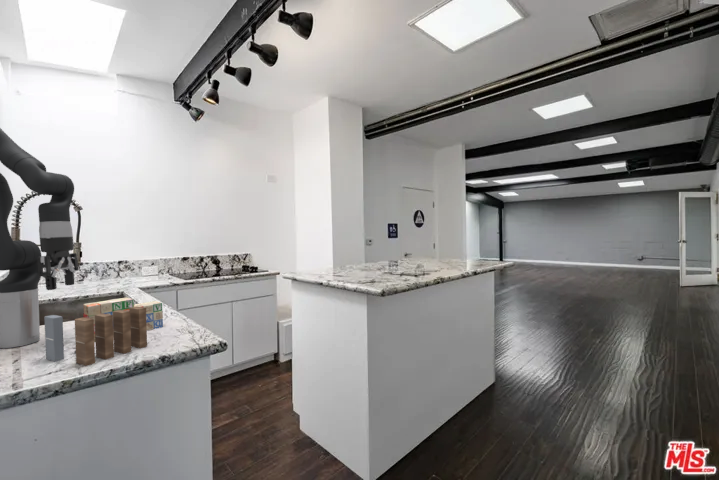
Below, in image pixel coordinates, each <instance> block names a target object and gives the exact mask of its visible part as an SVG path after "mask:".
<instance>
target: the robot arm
mask: <svg viewBox="0 0 719 480" xmlns="http://www.w3.org/2000/svg"><path fill="white" fill-rule="evenodd" d="M0 163H1V164H2V165H3V166H4V167H5V168H7V169H8V170H10V171H11V172H13V173H14V174H15V175H17V176H18V177H19V178H20V180H22V182H23V183H24V184H25V186H26V187H27V188H28V189H29V190H31V191H32V192H34V193H35V194H40V195H45V196H46V195H47V196H51V198H50V201H48V202H43V203H40V204H39V206H38V207H37V210H38V223H39V226H38V233H39V235H38V236H39V245H38V244H37V243H35V242H34V241H31V240H25V239H24V240H23V239H22V240H21V239H20V240H19V239H18V240H17V239H16V240H13V238H12V236H11V233H10V230H9V226H8V220H9V215H10V214H11V211H12V209H13V205H14V197H13V193H12V190H11V188H10V184H9V182H8V180H7V179H6V177H5V176H4V175H3V174H2V173H1V172H0V271H2V272H4V271H8V274H7V276H6V277H5V278H3V279H2V280H0V349H10V348H11V349H12V348H18V347H22V346H23V347H24V346H27V345H31V344H35V343H36V342H39V341H40V337H41V333H40V332H41V331H40V307H39V306H40V304H39V303H40V302H39V282H40V281H41V278H44V281H45V290H47V291H51V290H52V291H53V290H57V288H58V287H57V286H58V285H57V277H56V275H57V273H58V272H59V271H60V270H62V272H63V273H64V275H63V276H64V283H65V284H64V285H65V286H74V285H75V273H76V272H77V271H78V270H79V263H78V255H77V253H75V252H74V253H73V252H71V253H70V251H74V249H75V247H74V234H73V228H72V227H73V226H72V223H71V216H70V215H71V212H70V208H71V205H72V202H73V198H74V194H75V183H74V182H73V180H72V179H71V178H70V177H69V176H68V175H65V174H62V173H55V172H49V171H47V167H46V165H45V164H44V163H43V162H41V161H40V160H39V159H37V157H35V156H33V155H32V154H30V153H29V152H27V151H26V150H24V148H22V147H21V146H20V145H18V144H17V143H16V142H15V141H14V140H13V139H12V138H11V137H10V136H9V135H8V134H7V133H6V132H5V131H4V130H3V129H2V128H1V127H0ZM39 246H40V247H39ZM42 253H45V254H46V255H42Z"/></svg>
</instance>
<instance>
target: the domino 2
mask: <svg viewBox="0 0 719 480" xmlns="http://www.w3.org/2000/svg"><path fill="white" fill-rule="evenodd" d="M74 335H75V337H74V338H75V341H74V343H75V363H76V364H78V365H82V366H85V367H88V366H90V365H93V364H96V346H95V342H94V319H90V318H85V317H79V318H75V319H74Z"/></svg>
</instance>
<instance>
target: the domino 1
mask: <svg viewBox="0 0 719 480" xmlns="http://www.w3.org/2000/svg"><path fill="white" fill-rule="evenodd" d="M43 318H44V342H45V345H44V346H45V359H46V360H48V361H50V362H51V361H52V362H58V361H63V360H64V359H65V350H64V347H65V345H64V323H63V322H64V320H63V318H64V317H63V316H61V315H57V314H50V315H45V316H44V317H43Z"/></svg>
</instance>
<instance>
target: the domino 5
mask: <svg viewBox="0 0 719 480" xmlns="http://www.w3.org/2000/svg"><path fill="white" fill-rule="evenodd" d="M129 311H130V324H131V348H137V349H143V348H146V347H148V333H147V331H148V330H147V325H146V308H144V307H137V306H136V307H131V308H129Z"/></svg>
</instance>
